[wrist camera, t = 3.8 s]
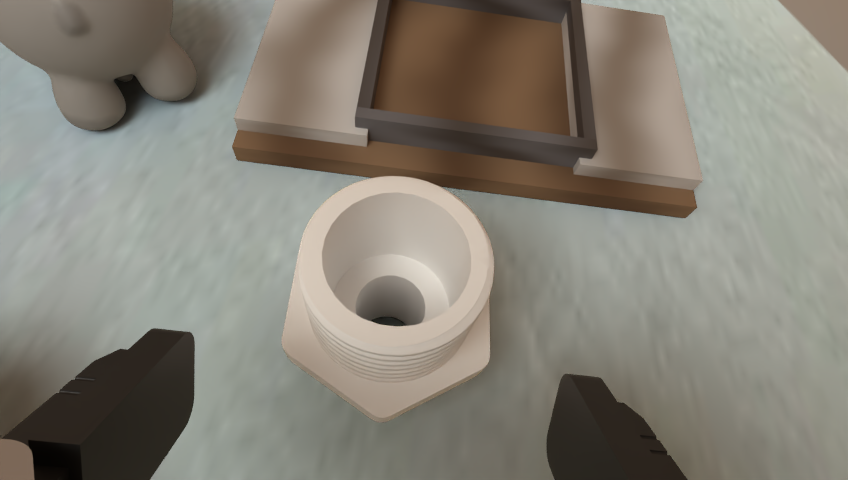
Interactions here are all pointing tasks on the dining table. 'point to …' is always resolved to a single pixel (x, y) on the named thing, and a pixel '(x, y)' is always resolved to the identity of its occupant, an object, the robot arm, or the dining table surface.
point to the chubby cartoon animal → (98, 52)
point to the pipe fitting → (391, 295)
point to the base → (476, 99)
